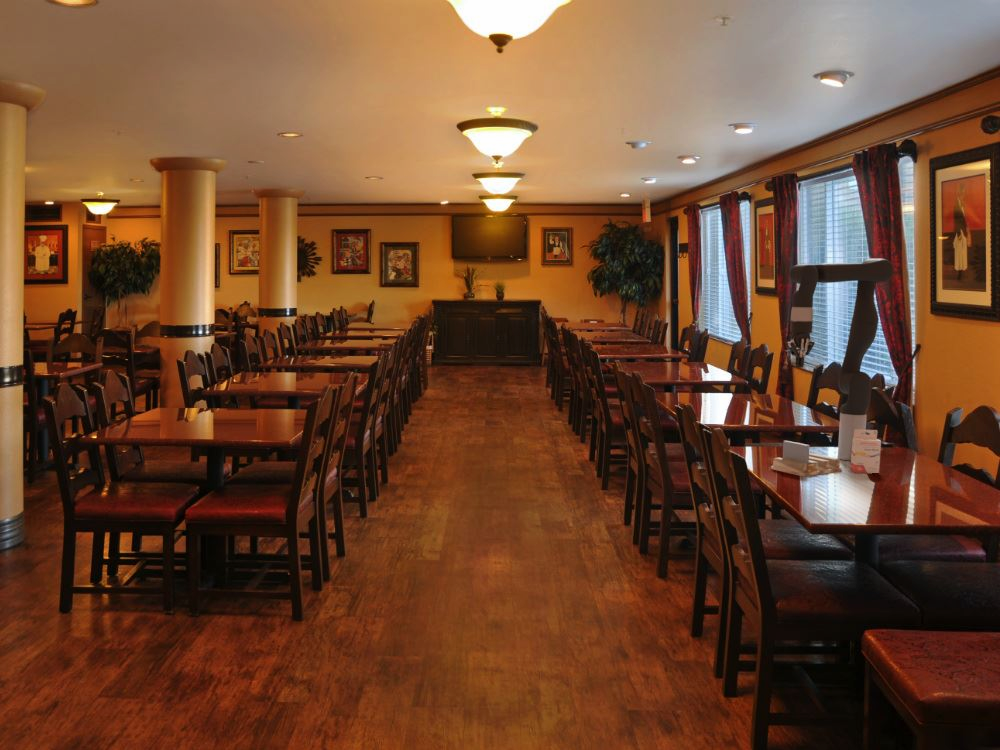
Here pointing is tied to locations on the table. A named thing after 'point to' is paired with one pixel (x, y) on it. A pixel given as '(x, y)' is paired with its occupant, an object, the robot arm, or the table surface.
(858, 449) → the ink cartridge box
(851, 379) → the robot arm
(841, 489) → the table surface
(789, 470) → the rack
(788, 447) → the panel
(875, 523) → the table surface
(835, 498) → the table surface
